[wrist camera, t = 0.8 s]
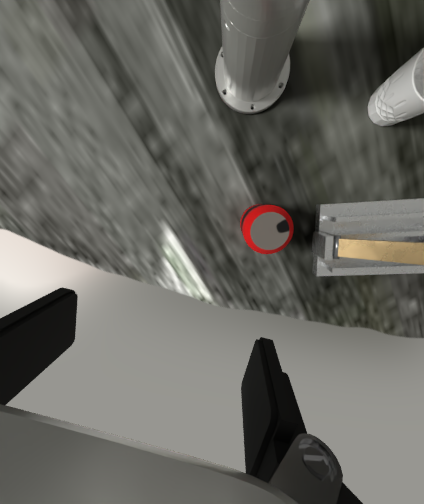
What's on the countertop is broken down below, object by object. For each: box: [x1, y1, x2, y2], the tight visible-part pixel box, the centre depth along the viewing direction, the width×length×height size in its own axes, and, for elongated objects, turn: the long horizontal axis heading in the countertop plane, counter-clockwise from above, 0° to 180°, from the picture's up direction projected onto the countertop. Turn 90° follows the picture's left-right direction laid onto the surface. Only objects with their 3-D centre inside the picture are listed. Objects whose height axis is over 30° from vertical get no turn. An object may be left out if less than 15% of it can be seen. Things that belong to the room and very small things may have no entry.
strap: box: [333, 235, 424, 265], centre depth 29 cm, size 4×18×1 cm
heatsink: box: [312, 198, 424, 276], centre depth 37 cm, size 14×22×8 cm, turn 93°
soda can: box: [240, 204, 293, 254], centre depth 36 cm, size 8×8×12 cm
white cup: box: [368, 47, 424, 126], centre depth 31 cm, size 8×8×10 cm
